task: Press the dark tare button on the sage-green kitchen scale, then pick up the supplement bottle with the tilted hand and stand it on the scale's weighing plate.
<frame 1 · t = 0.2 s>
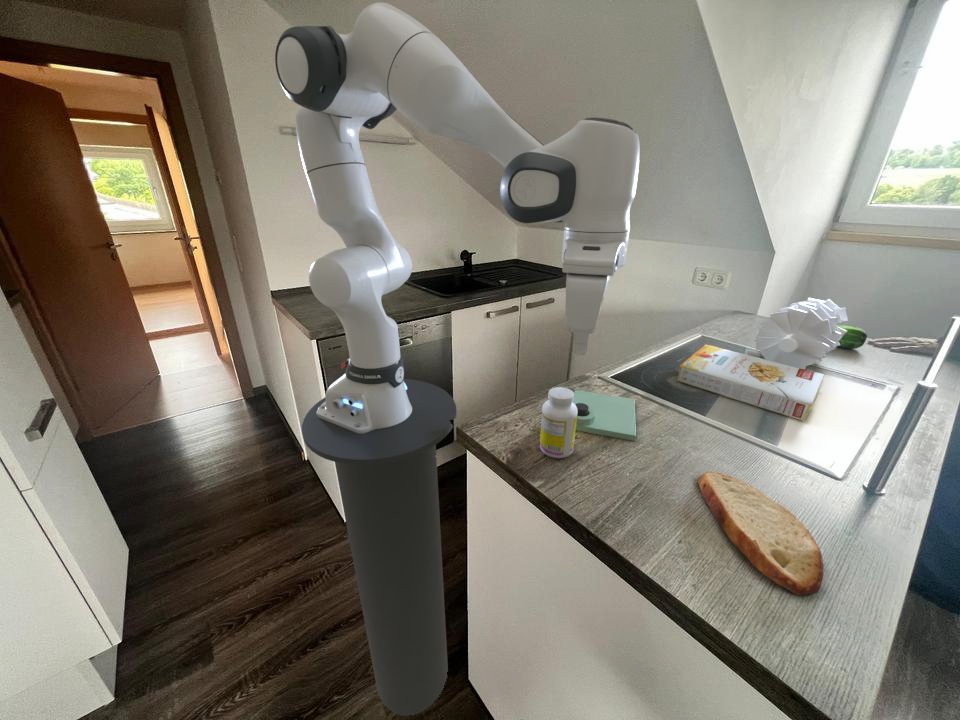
hand: (583, 342, 61), 26 cm above the counter, tool pointing down, fingers open, 8 cm apart
bread slice: (747, 528, 59), on the counter
supplement bottle: (555, 450, 77), on the counter
vegetable: (821, 343, 131), on the counter
spiral staircase: (790, 360, 118), on the counter
scale: (601, 415, 89), on the counter
tare button: (581, 409, 84), point 4 cm above the counter, slide at 0.1 cm
cereal box: (745, 387, 102), on the counter
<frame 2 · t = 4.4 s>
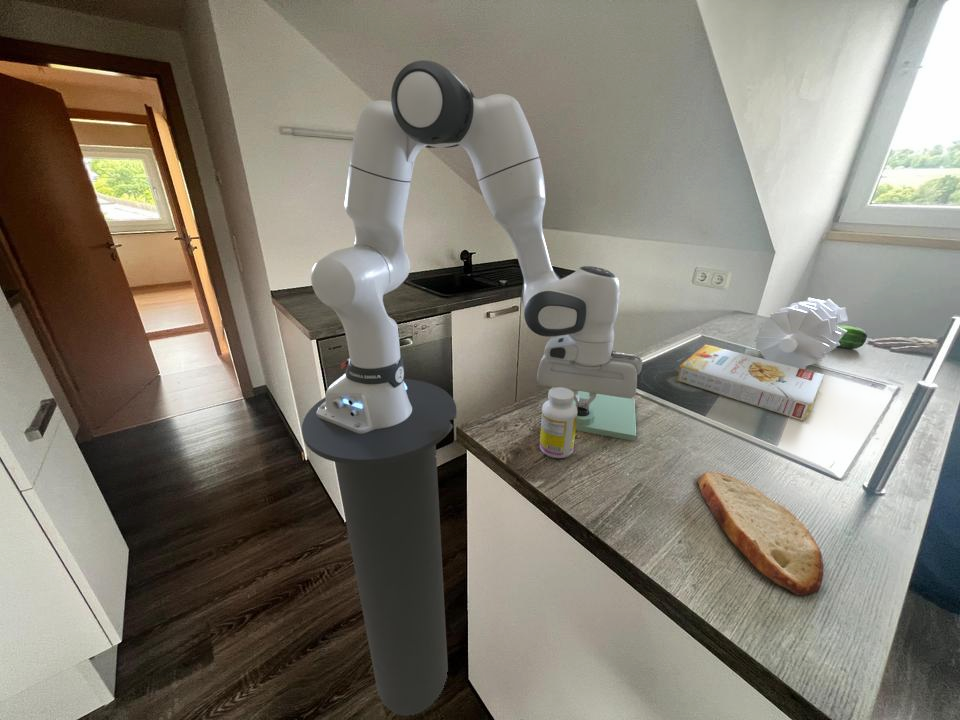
hand: (582, 407, 84), 4 cm above the counter, tool pointing down, fingers closed, pressing on tare button
tare button: (581, 411, 84), point 3 cm above the counter, slide at -0.2 cm, touching gripper
everything else where it was.
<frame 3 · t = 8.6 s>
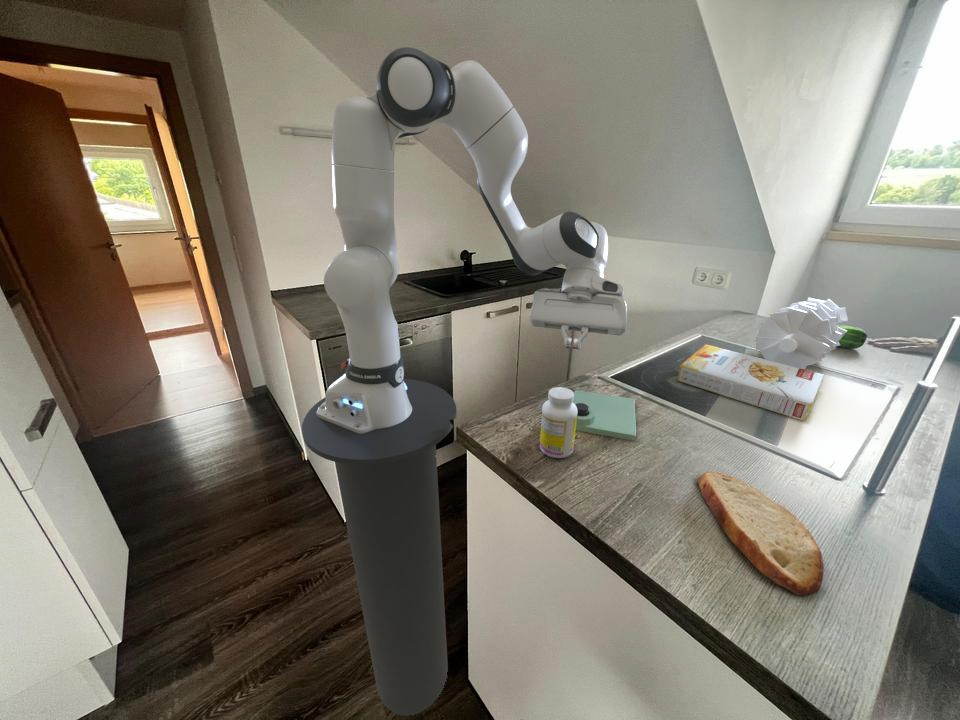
hand: (571, 347, 81), 17 cm above the counter, tool tilted 45°, fingers closed
tare button: (581, 409, 84), point 3 cm above the counter, slide at 0.1 cm
everything else where it was.
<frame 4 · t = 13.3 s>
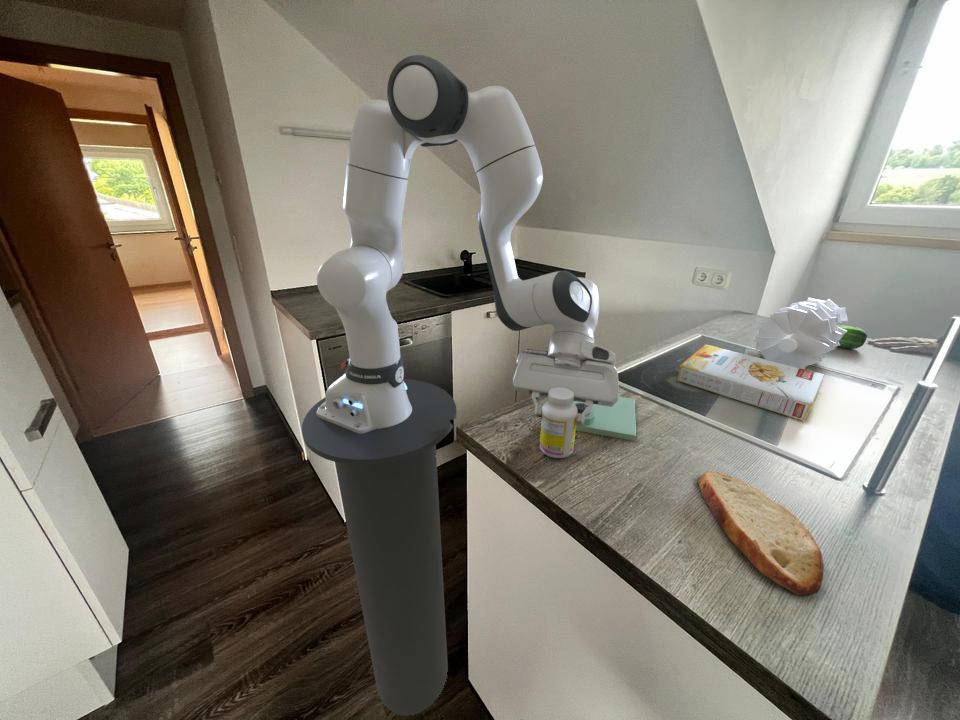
hand: (558, 420, 74), 7 cm above the counter, tool tilted 45°, fingers closed on supplement bottle, 6 cm apart
supplement bottle: (555, 450, 77), on the counter, touching gripper
everything else where it was.
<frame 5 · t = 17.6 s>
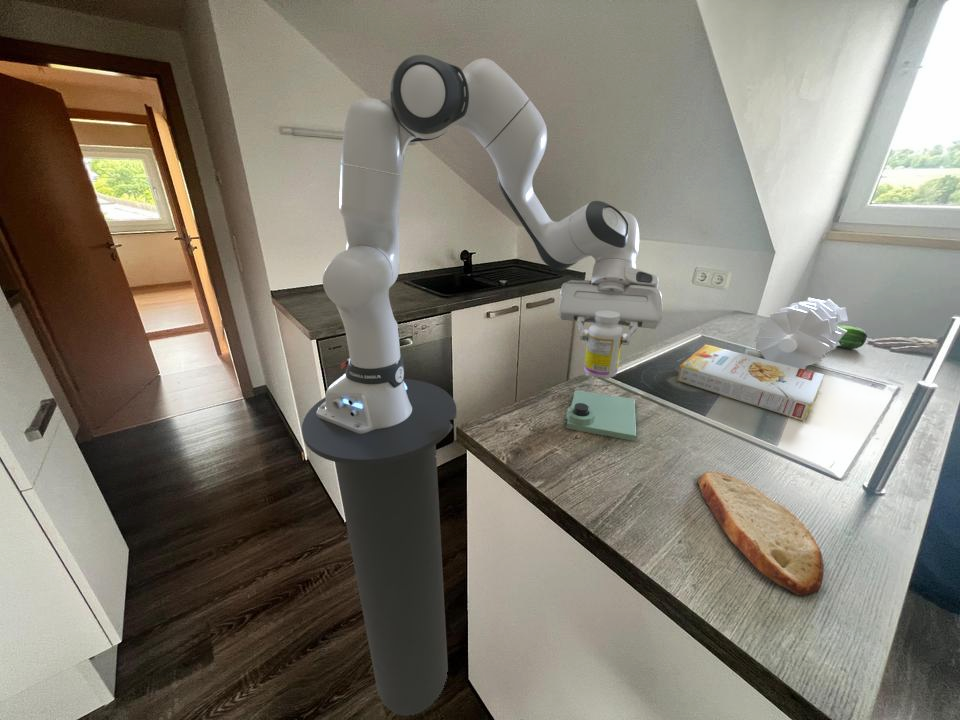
hand: (604, 341, 77), 20 cm above the counter, tool tilted 45°, fingers closed on supplement bottle, 6 cm apart
supplement bottle: (599, 373, 81), point 12 cm above the counter, touching gripper
everything else where it was.
when the fingers open (9 cm above the counter, at t = 22.1 s): supplement bottle stays where it is, resting on scale.
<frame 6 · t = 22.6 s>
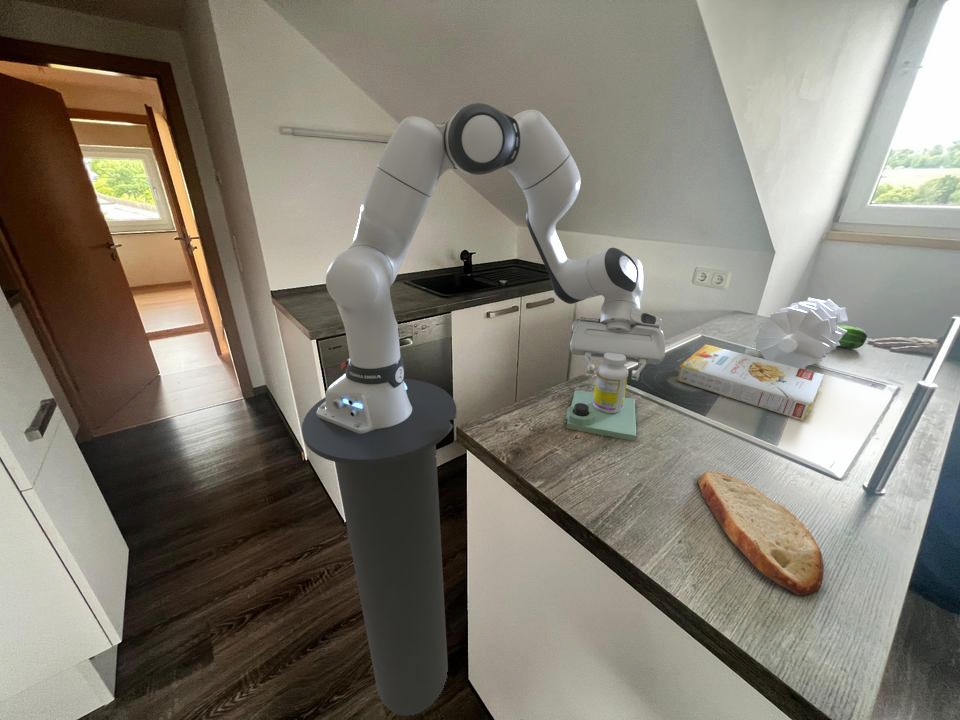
hand: (612, 376, 86), 10 cm above the counter, tool tilted 45°, fingers open, 8 cm apart
supplement bottle: (607, 407, 90), point 1 cm above the counter, touching scale
everything else where it was.
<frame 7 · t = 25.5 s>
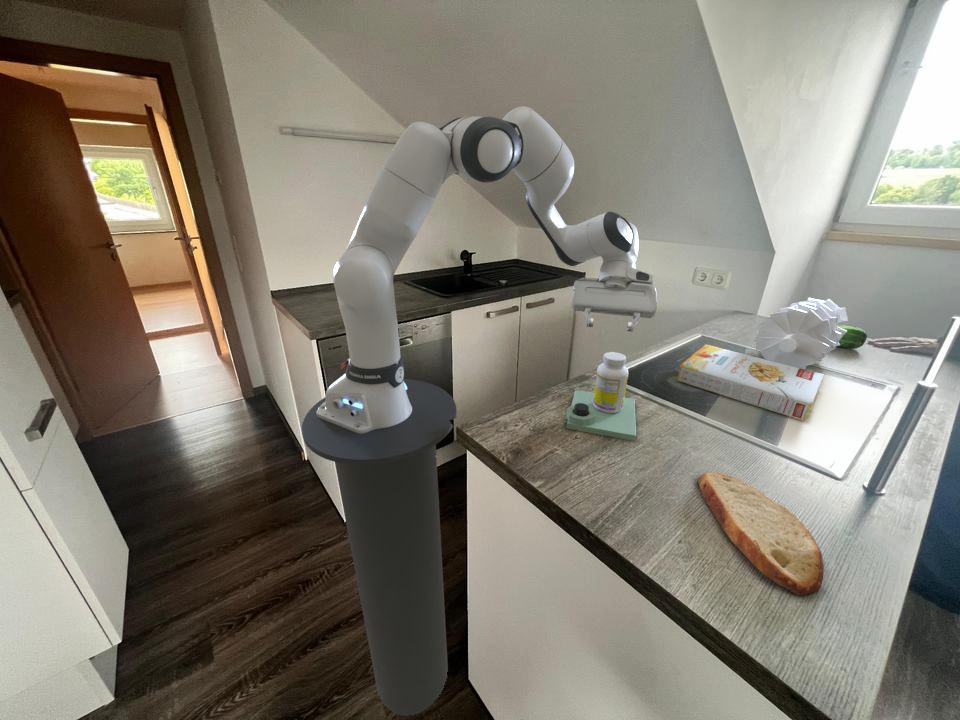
hand: (609, 328, 95), 16 cm above the counter, tool tilted 45°, fingers open, 8 cm apart
nothing on the counter moved.
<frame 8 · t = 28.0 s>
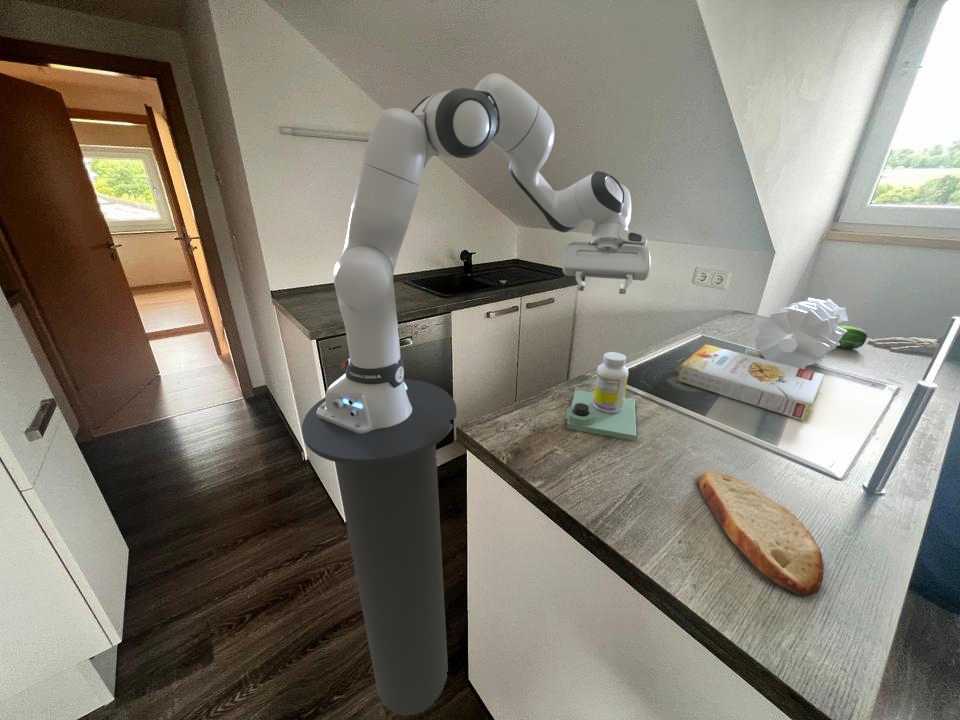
hand: (601, 291, 92), 25 cm above the counter, tool tilted 45°, fingers open, 8 cm apart
nothing on the counter moved.
at the end: tare button pushed in 0.9 cm at the most during the clip, back to where it started at the end; supplement bottle inside the target area on the scale (2.2 cm from its centre), point 1.2 cm above the scale's base; supplement bottle tilted 0° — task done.
